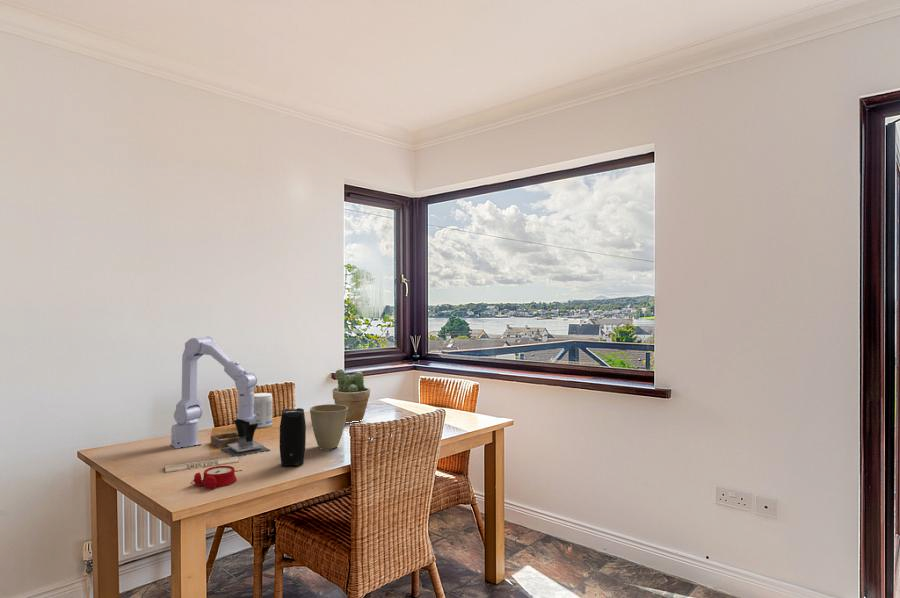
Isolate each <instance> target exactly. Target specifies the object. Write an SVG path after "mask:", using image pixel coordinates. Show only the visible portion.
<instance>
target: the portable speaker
mask: <svg viewBox="0 0 900 598" xmlns="http://www.w3.org/2000/svg"><path fill="white" fill-rule="evenodd" d="M280 417H281V418H280V423H279V457H280V464H281V465H280V466H281V467H284V468H286V467H288V466H294V467H295V466H296V467H301V466H303V465H304V460H305V455H306V445H307V444H306V443H307V442H306V438H307V437H306V436H307V433H306V431H307V427H306V426H307V425H306V416H305V409H304V408H298V407H297V408H292V409H289V408H284V409H282V410H281V416H280ZM302 464H303V465H302Z"/></svg>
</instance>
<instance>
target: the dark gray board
mask: <svg viewBox="0 0 900 598" xmlns="http://www.w3.org/2000/svg"><path fill="white" fill-rule="evenodd" d="M221 449H222V450H221ZM220 450H221V451H223V450H224V451H223V452H225V453H226V452H227V453H226V454H228V453H229V454H230V455H229V454H228V455H229V456H231V455H232V456H231V457H235V456H238V457H242V455H243V456H247V454H249V455H254V454H258V452H260V453H265V452H264V451H266V452H270V451H271V449H269V447H266V446H264V447H263V448H258V449H256V450H251V451H245V452H236V451H234V450H233V449H231V448H229V447H223V448H220ZM269 450H270V451H269ZM253 453H254V454H253Z"/></svg>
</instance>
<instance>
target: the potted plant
mask: <svg viewBox="0 0 900 598" xmlns="http://www.w3.org/2000/svg"><path fill="white" fill-rule="evenodd" d="M335 377H336V380H337V387H335V388H333V389H332V399H333V400H334V404H336V405H344V406H347V407H348V410H347V416H346V421H345V422H352V421H360V420H362V419H363V420H364V416H365V413H366V410H367V407H368V402H369V399H370V397H371V396H370V395H371V388H369V387H365V386H366V385H364V384H365V381H364V379H365V376H364V373H363V372H362V371H356V372H354V373H353V374H346V373H345V370H344V369H343V368H342V369H341V368H340V369H339V368H338V369H337V370H336V371H335Z"/></svg>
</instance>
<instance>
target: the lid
mask: <svg viewBox="0 0 900 598" xmlns="http://www.w3.org/2000/svg"><path fill="white" fill-rule="evenodd" d="M227 446H228V447H229V448H231V449H233V450H234V451H236V452H245V451H251V450H256V449H258V448H263V447H265V445H264V444H263V443H260V442H259V441H256V440H255V439H253V440H252V441H250V442H246V438H245V437H240V438H238V443H232V444H227Z"/></svg>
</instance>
